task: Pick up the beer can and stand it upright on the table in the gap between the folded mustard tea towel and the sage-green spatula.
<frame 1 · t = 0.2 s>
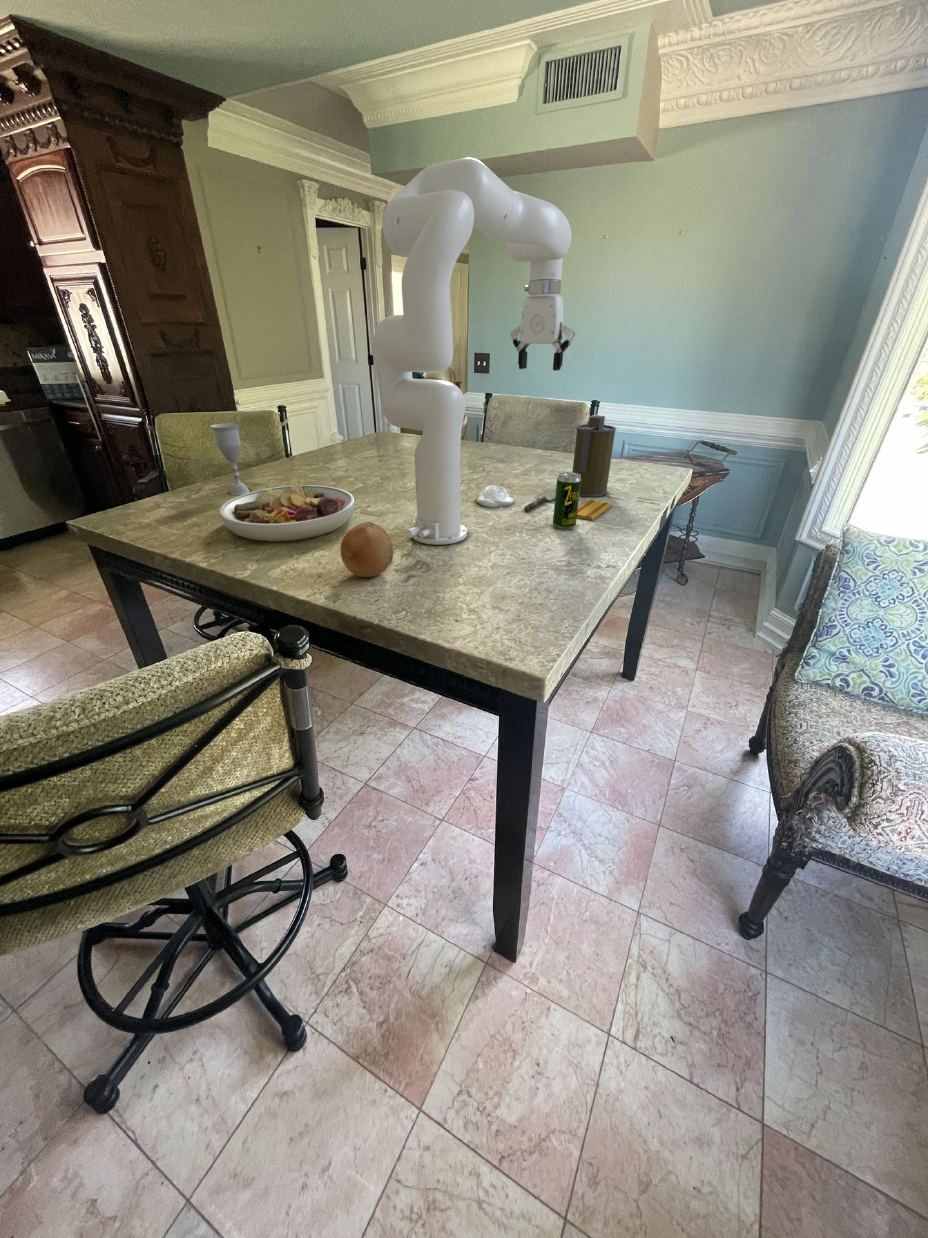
hand: (539, 369, 129), 31 cm above the table, tool pointing down, fingers open, 9 cm apart
bowl: (292, 523, 120), on the table
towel: (590, 511, 127), on the table
beer can: (564, 526, 118), on the table
chalice: (240, 492, 142), on the table
spatula: (540, 503, 133), on the table
canister: (587, 492, 142), on the table
rose: (495, 502, 134), on the table
onion: (369, 575, 95), on the table
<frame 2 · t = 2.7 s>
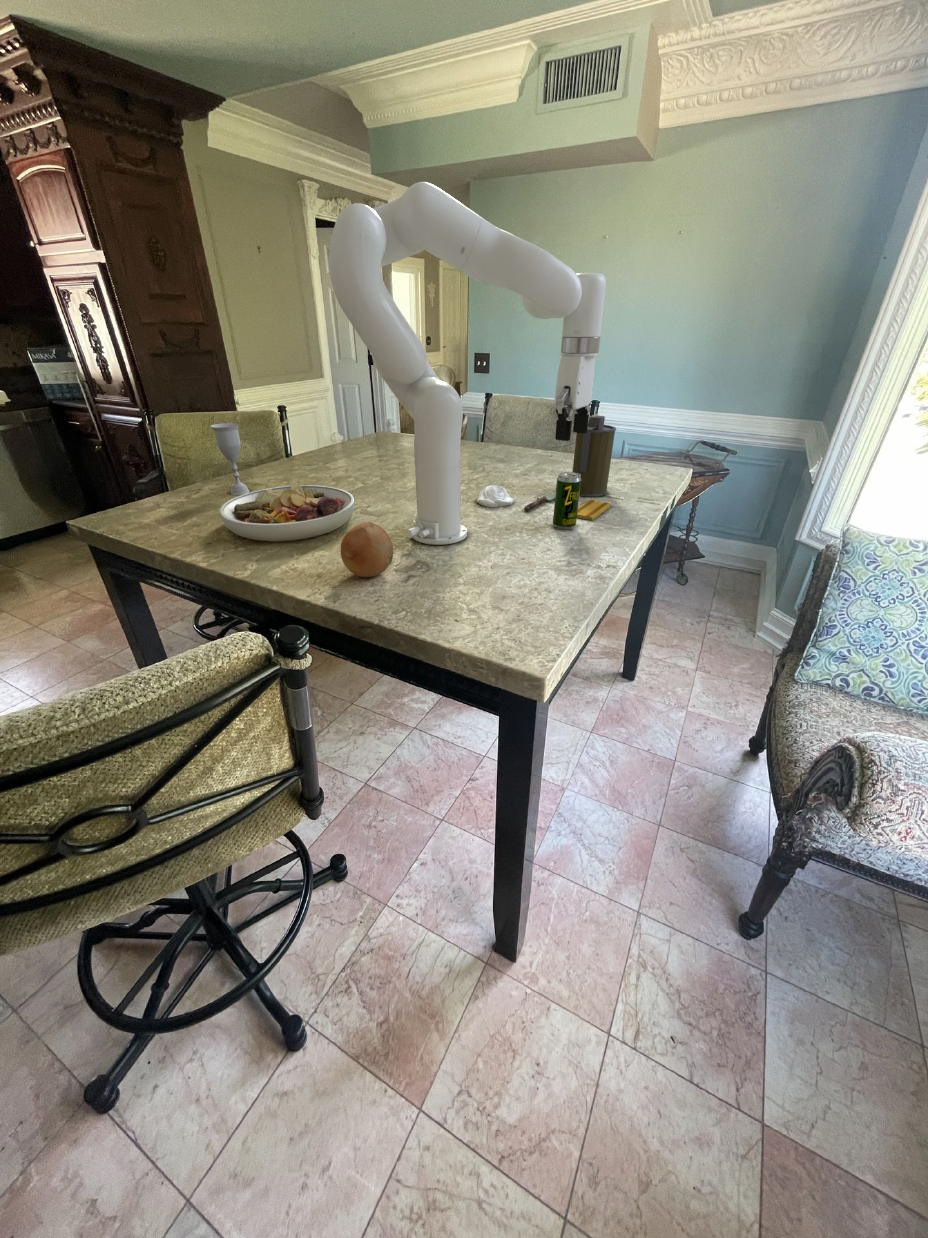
hand: (571, 436, 109), 20 cm above the table, tool pointing down, fingers open, 9 cm apart
nothing on the table moved.
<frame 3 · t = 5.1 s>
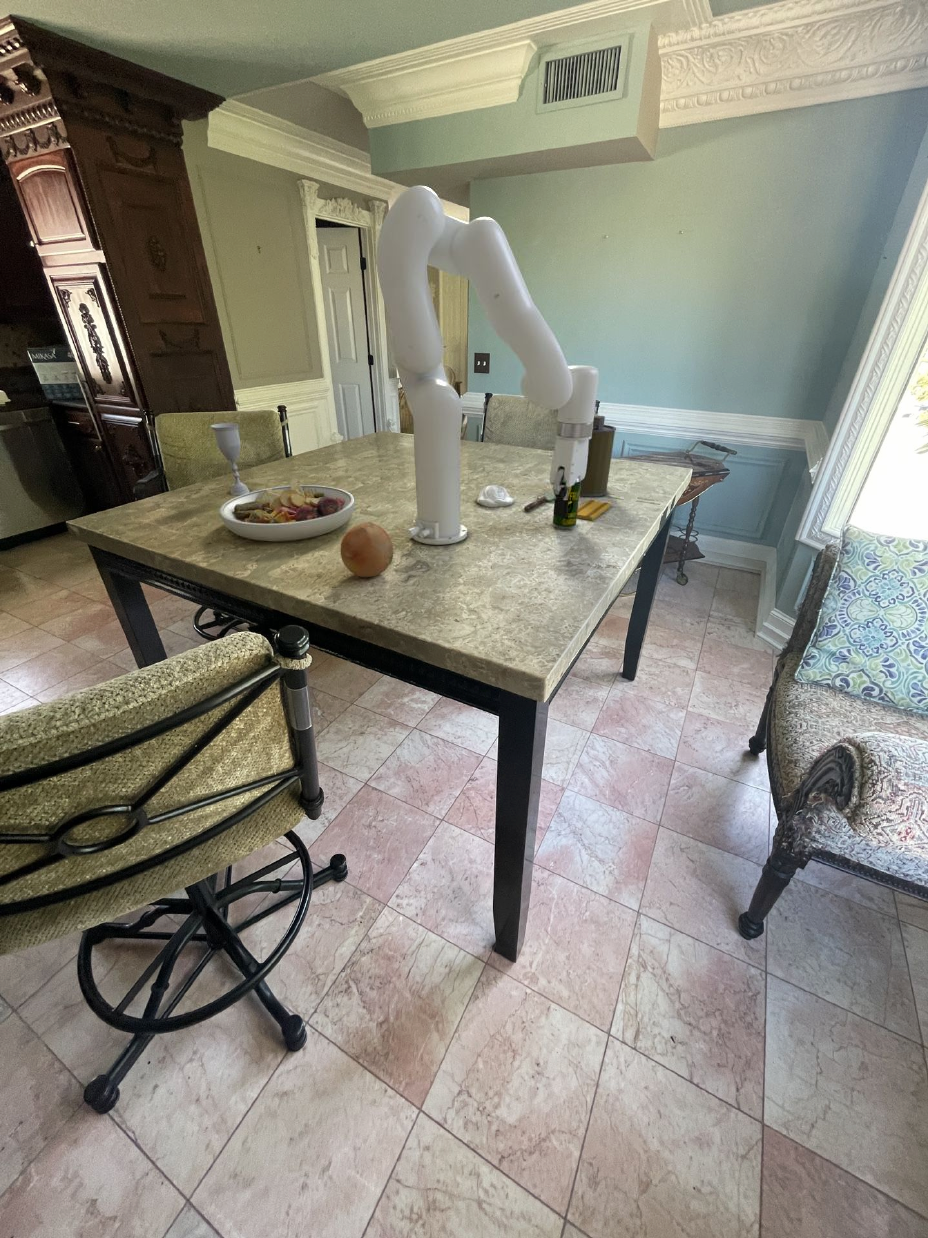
hand: (565, 511, 116), 3 cm above the table, tool pointing down, fingers closed on beer can, 5 cm apart
beer can: (564, 526, 118), on the table, touching gripper
everything else where it was.
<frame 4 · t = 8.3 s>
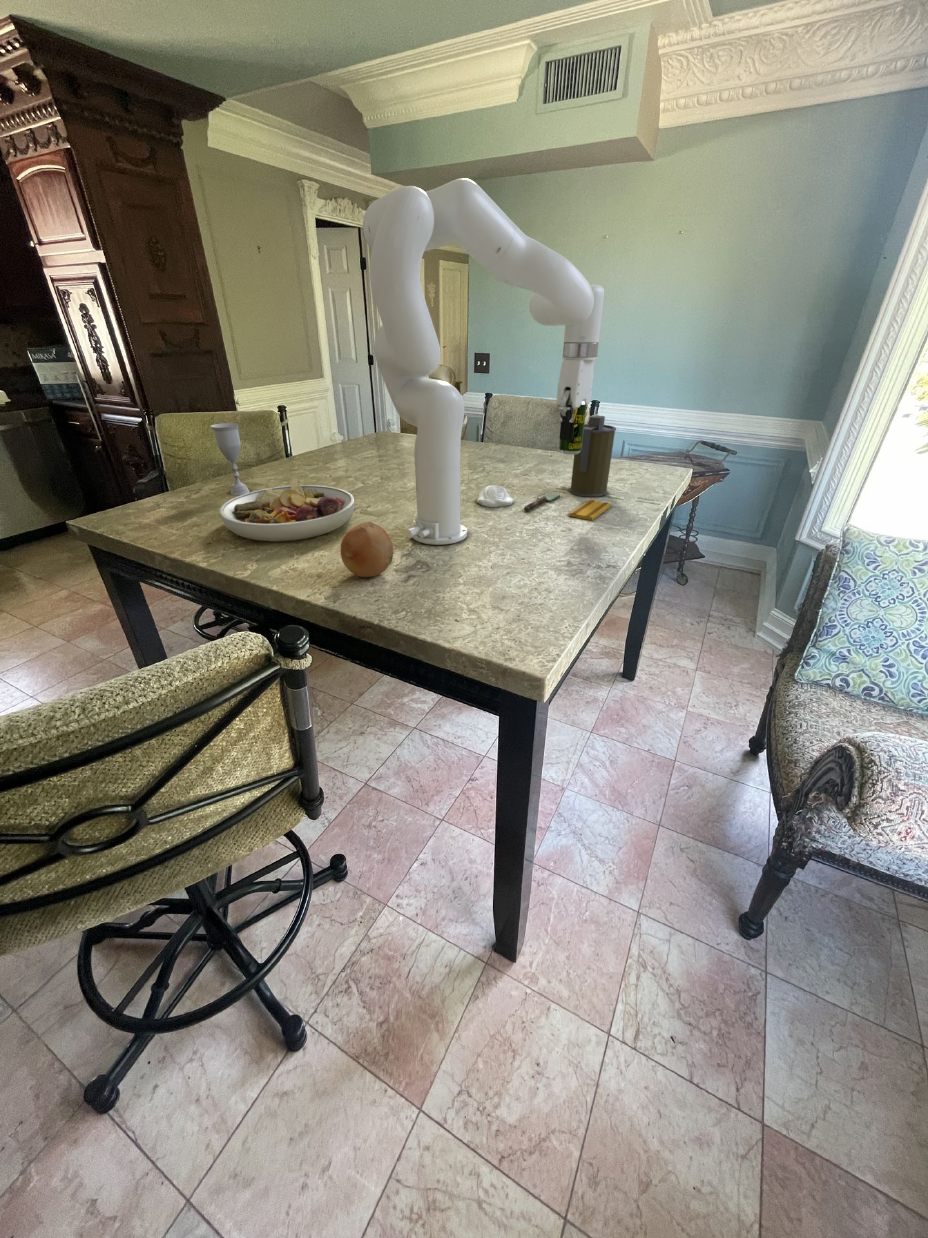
hand: (571, 437, 119), 18 cm above the table, tool pointing down, fingers closed on beer can, 5 cm apart
beer can: (569, 452, 121), point 14 cm above the table, touching gripper
everything else where it was.
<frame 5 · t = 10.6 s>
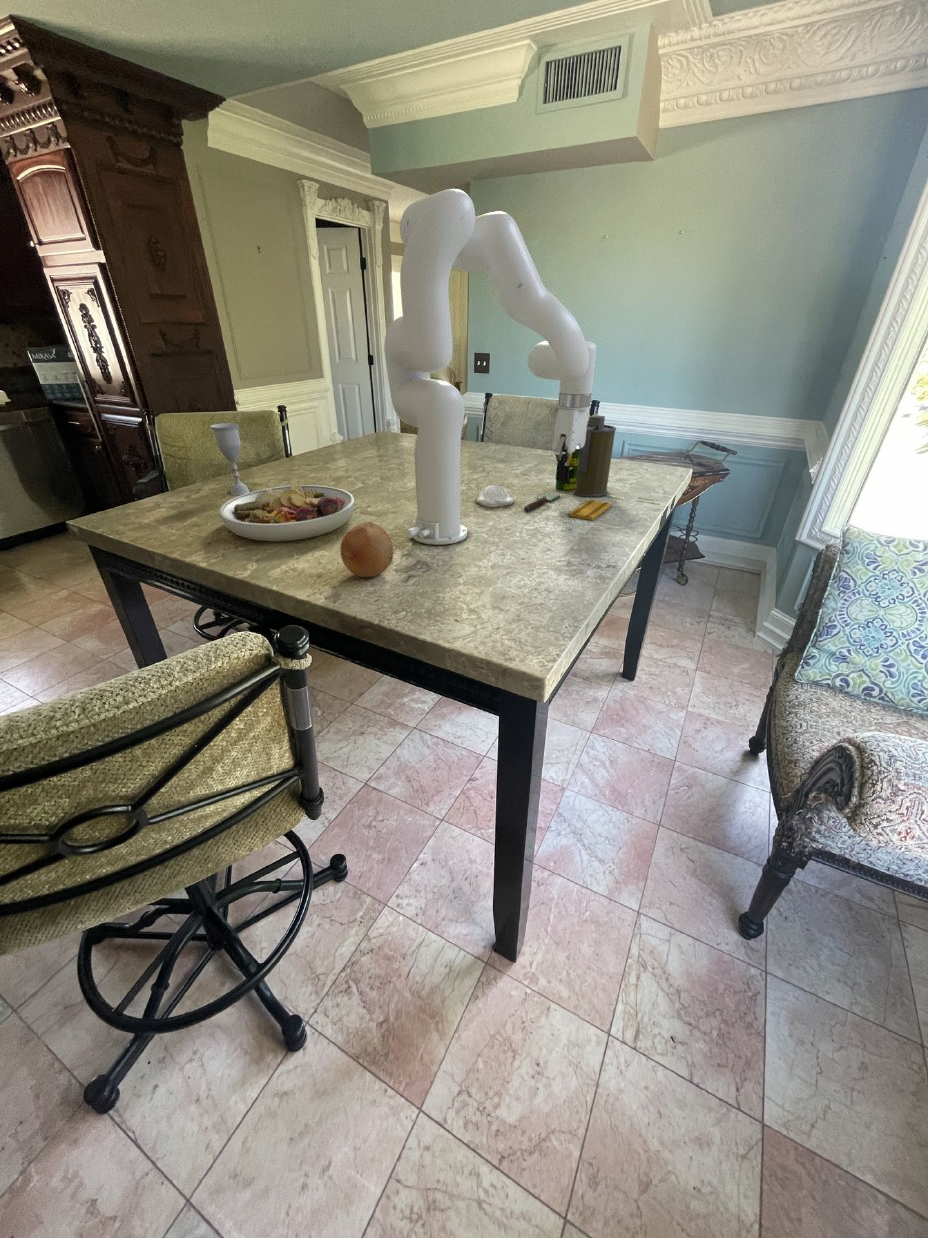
hand: (566, 477, 127), 7 cm above the table, tool pointing down, fingers closed on beer can, 5 cm apart
beer can: (565, 491, 129), point 4 cm above the table, touching gripper
everything else where it was.
when the fingers open (3 cm above the table, at t = 12.0 s): beer can stays where it is, on the table.
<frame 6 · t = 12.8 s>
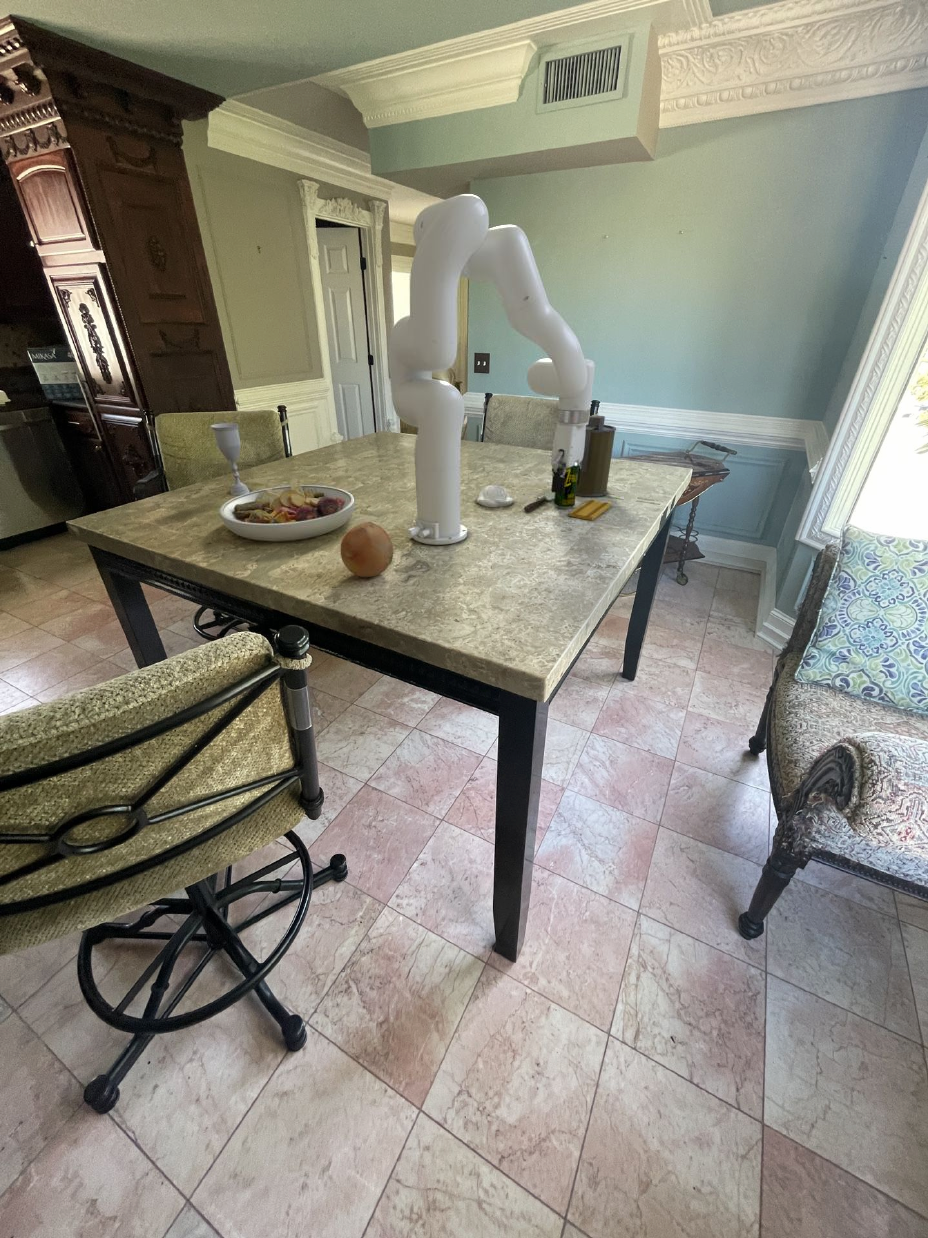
hand: (565, 488, 128), 5 cm above the table, tool pointing down, fingers open, 9 cm apart
beer can: (563, 506, 131), on the table
everything else where it was.
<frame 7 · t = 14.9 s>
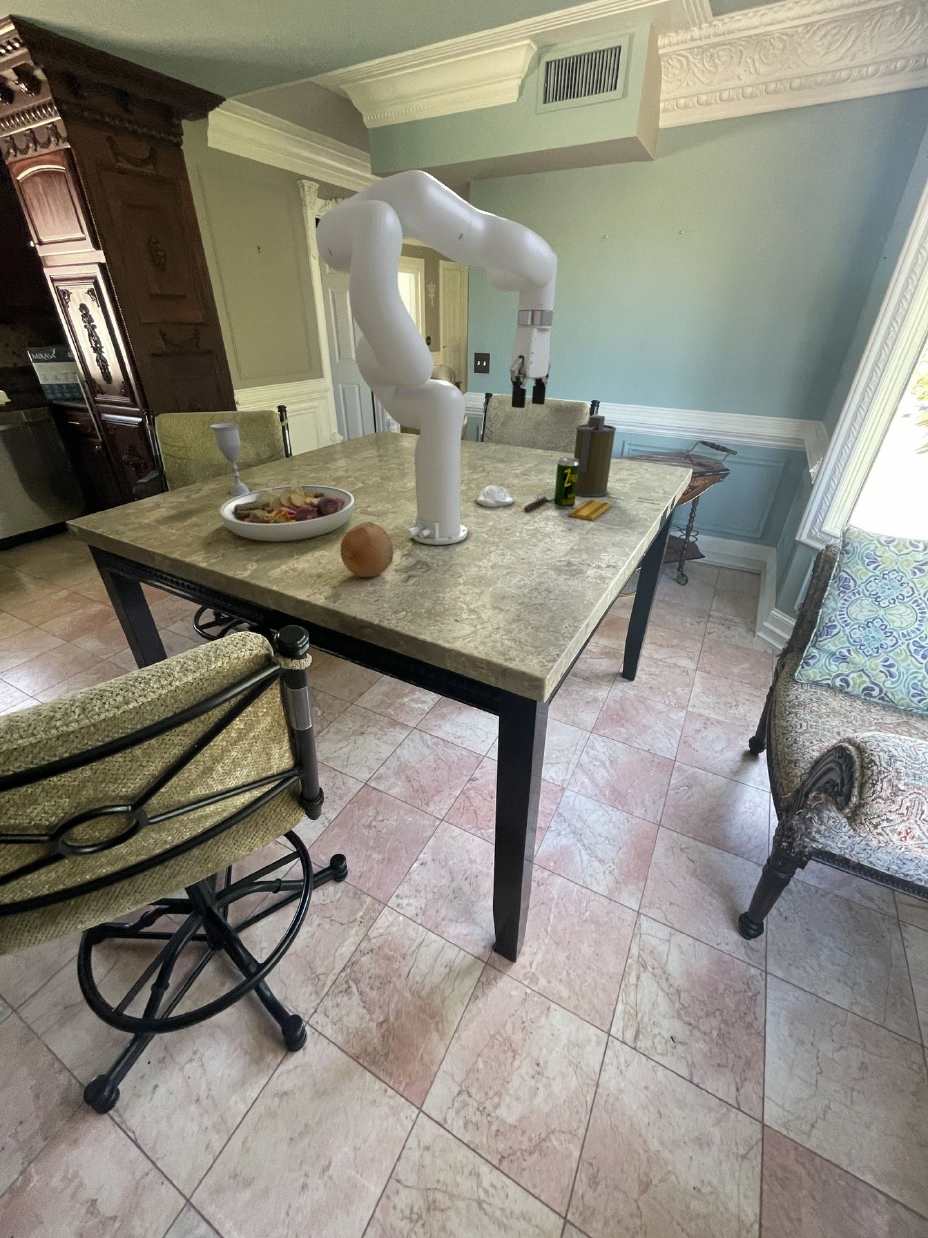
hand: (528, 405, 118), 25 cm above the table, tool pointing down, fingers open, 9 cm apart
nothing on the table moved.
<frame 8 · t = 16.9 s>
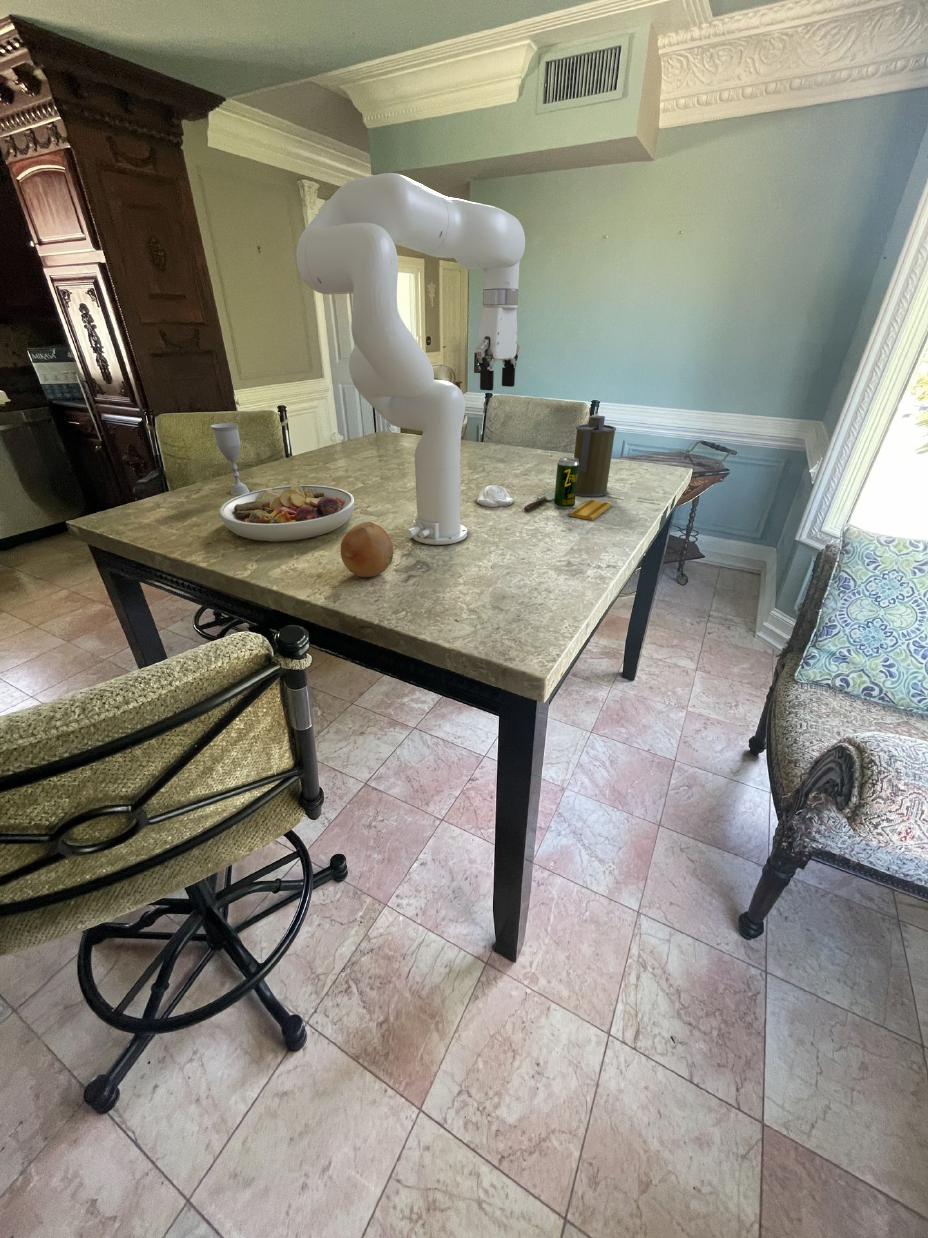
hand: (497, 388, 116), 28 cm above the table, tool pointing down, fingers open, 9 cm apart
nothing on the table moved.
at the end: beer can 0.1 cm from the target spot, on the table; beer can tilted 0°; the gripper is holding nothing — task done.
